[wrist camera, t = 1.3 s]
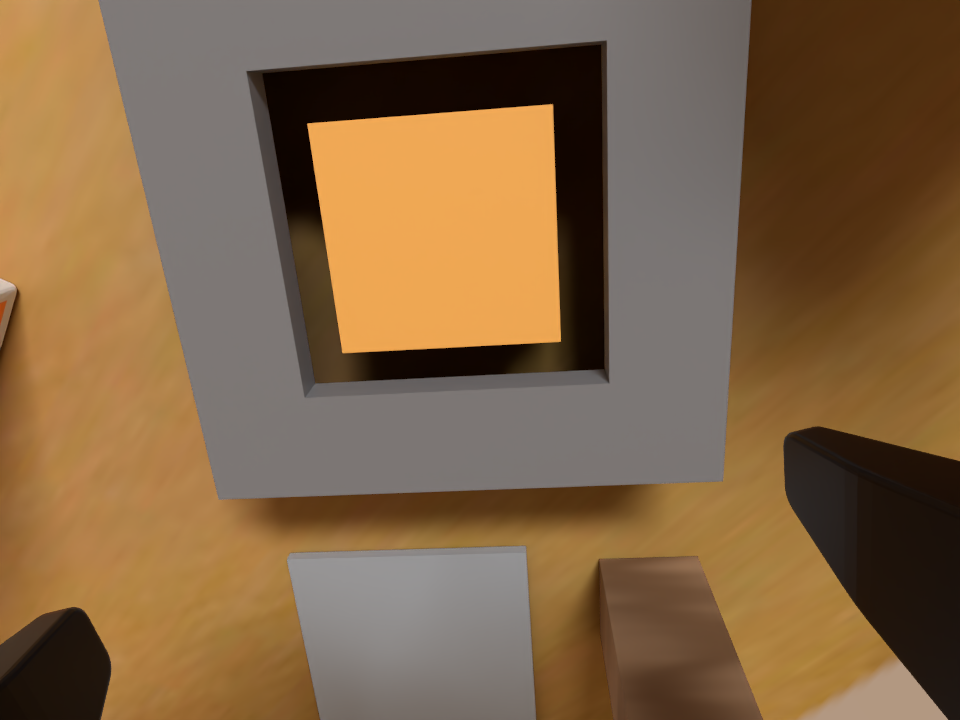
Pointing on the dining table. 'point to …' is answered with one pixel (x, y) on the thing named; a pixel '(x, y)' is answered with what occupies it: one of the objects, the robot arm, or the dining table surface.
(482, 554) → the mat
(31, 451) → the dining table surface
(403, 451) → the box
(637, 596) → the brown rectangular block
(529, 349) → the dining table surface
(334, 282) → the button
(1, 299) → the skincare box
